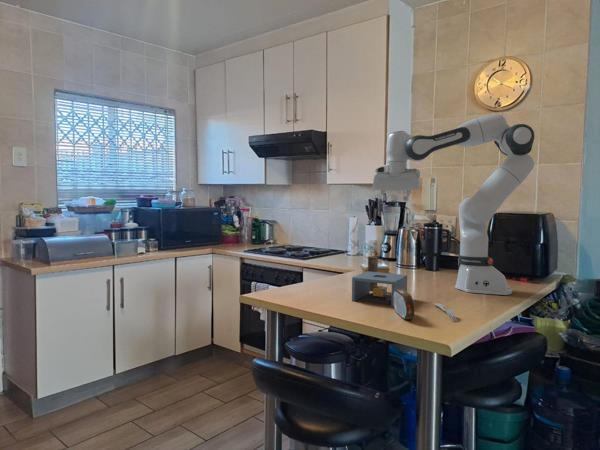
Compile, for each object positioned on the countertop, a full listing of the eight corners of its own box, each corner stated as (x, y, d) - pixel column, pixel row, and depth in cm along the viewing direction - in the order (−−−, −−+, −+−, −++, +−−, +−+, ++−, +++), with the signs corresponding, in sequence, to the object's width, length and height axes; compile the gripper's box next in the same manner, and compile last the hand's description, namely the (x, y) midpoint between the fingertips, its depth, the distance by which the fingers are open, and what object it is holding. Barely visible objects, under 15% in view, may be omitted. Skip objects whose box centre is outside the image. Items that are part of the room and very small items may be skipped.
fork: (440, 310, 161) (440, 303, 161) (458, 321, 140) (458, 312, 140) (432, 310, 161) (432, 302, 161) (449, 321, 140) (449, 312, 140)
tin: (414, 322, 139) (415, 296, 138) (405, 323, 139) (405, 296, 138) (400, 310, 154) (400, 286, 153) (391, 310, 154) (391, 286, 153)
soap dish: (384, 272, 230) (384, 263, 230) (389, 276, 220) (390, 266, 220) (360, 273, 229) (360, 263, 228) (364, 276, 219) (365, 266, 219)
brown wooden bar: (377, 290, 185) (377, 257, 184) (374, 292, 183) (375, 257, 182) (370, 289, 187) (371, 256, 186) (367, 291, 184) (368, 257, 183)
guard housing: (406, 298, 172) (407, 275, 171) (394, 307, 158) (394, 281, 157) (367, 293, 180) (367, 271, 179) (351, 301, 166) (352, 277, 165)
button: (386, 294, 169) (386, 287, 169) (383, 296, 166) (383, 288, 166) (376, 293, 171) (376, 285, 171) (372, 295, 168) (373, 287, 168)
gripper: (421, 168, 194) (421, 200, 195) (376, 169, 204) (376, 200, 205) (418, 168, 189) (417, 200, 190) (371, 169, 199) (371, 200, 200)
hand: (395, 200), depth 197 cm, fingers open, 8 cm apart
